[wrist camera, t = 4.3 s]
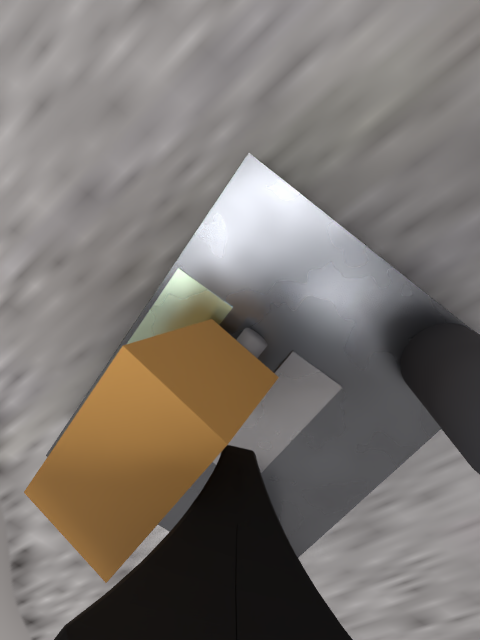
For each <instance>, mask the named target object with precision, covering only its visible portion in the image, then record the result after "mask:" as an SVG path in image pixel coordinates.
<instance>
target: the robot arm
mask: <svg viewBox="0 0 480 640" xmlns="http://www.w3.org/2000/svg"><path fill="white" fill-rule="evenodd" d="M54 640H352V638H351V637H350V636H349V635H348V633H347V632H346V631H345V629H344V628H343V627H342V625H341V624H340V623H339V621H338V620H337V618H336V617H335V615H334V614H333V613H332V611H331V610H330V608H329V607H328V605H327V604H326V602H325V601H324V599H323V598H322V597H321V595H320V594H319V592H318V591H317V589H316V588H315V586H314V584H313V583H312V581H311V579H310V578H309V576H308V575H307V573H306V571H305V570H304V568H303V566H302V564H301V563H300V561H299V559H298V557H297V555H296V554H295V552H294V550H293V548H292V546H291V544H290V542H289V540H288V538H287V536H286V534H285V532H284V530H283V528H282V526H281V524H280V521H279V519H278V517H277V515H276V512H275V510H274V508H273V505H272V503H271V500H270V498H269V495H268V493H267V490H266V487H265V484H264V481H263V478H262V476H261V472H260V469H259V466H258V462H257V458H256V454H255V453H254V451H252V450H248V449H244V448H240V447H236V446H231V445H227V446H226V447H225V448H224V449H223V450H222V452H221V455H220V458H219V460H218V463H217V465H216V467H215V469H214V471H213V472H212V474H211V476H210V477H209V479H208V481H207V482H206V484H205V486H204V487H203V489H202V491H201V492H200V494H199V495H198V496H197V498H196V499H195V500H194V502H193V503H192V505H191V506H190V507H189V509H188V510H187V512H186V513H185V514H184V515H183V517H182V518H181V519H180V520H179V522H178V523H177V524H176V525H175V526H174V528H173V529H172V530H171V531H170V532H169V533H168V535H167V536H166V537H165V538H164V539H163V540H162V541H161V542H160V543H159V544H158V545H157V546H156V547H155V548H154V549H153V551H152V552H151V553H150V554H149V555H148V556H147V557H146V558H145V559H144V560H143V561H142V562H141V563H140V564H138V565H137V566H136V567H135V568H134V569H133V570H132V571H131V572H130V573H129V574H127V575H126V576H125V577H124V578H123V579H122V580H121V581H120V582H119V583H117V584H116V585H115V586H114V587H113V588H112V589H111V590H109V591H108V592H107V593H106V594H105V595H103V596H102V597H101V598H100V599H98V600H97V601H96V602H95V603H93V604H92V605H91V606H89V607H88V608H87V609H86V610H84V611H83V612H82V613H80V614H79V615H78V616H77V617H75V618H74V619H73V620H71V621H70V622H69V623H68V624H66V625H65V626H64V627H63V629H62V630H61V631H60V632H59V634H58V635H57V636H56V638H55V639H54Z"/></svg>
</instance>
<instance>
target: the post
mask: <svg viewBox="0 0 480 640" xmlns="http://www.w3.org/2000/svg"><path fill="white" fill-rule="evenodd" d="M400 368H401V374H402V377H403V379H404V381H405V382H406V384H407V385H408V387H409V388H410V389H411V390H412V392H413V393H414V394H415V395H416V397H417V398H418V399H419V401H420V402H421V403H422V404H423V406H424V407H425V408H426V409H427V411H428V412H429V413H430V415H431V416H432V417H433V418H434V420H435V421H436V422H437V424H438V425H439V426H440V427H441V429H442V430H443V431H444V432H445V434H446V435H447V436H448V438H449V439H450V440H451V441H452V443H453V444H454V445H455V446H456V448H457V449H458V450H459V452H460V453H461V454H462V455H463V457H464V458H465V459H466V460H467V462H468V463H469V464H470V465H471V467H472V468H473V469H474V470H475V471H476V472H478V473H479V474H480V334H478V333H476V332H475V331H473V330H471V329H470V328H468V327H466V326H463V325H460V324H454V323H443V324H437V325H434V326H431V327H428V328H426V329H424V330H422V331H421V332H419V333H418V334H417V335H415V336H414V337H413V338H412V339H411V340H410V342H409V343H408V344H407V346H406V347H405V349H404V351H403V354H402V357H401V363H400Z"/></svg>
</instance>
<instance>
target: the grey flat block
mask: <svg viewBox="0 0 480 640" xmlns="http://www.w3.org/2000/svg"><path fill="white" fill-rule="evenodd" d="M210 319H213V320H214V321H215V322H216V323H217V324H218V325H219V326H221V327H222V328H223V329H224V330H225V331H226V332H227V333H229V334H230V335H231V336H232V337H233V338H234V339H237V338H238V337H239V336H240V334H241V333H242V332H243V330H244V329H245V328H250V329H252V330H254V331H255V332H257V333H258V334H259V335H261V336H262V337H263V338H264V339H265V341H266V342H267V347H266V348H265V349H264V350H263V352H262V353H261V354H260V355H259V357H258V358H257V359H258V360H260V361H261V362H262V363H263V364H264V365H265V366H266V367H268V368H269V369H270V370H271V371H272V372H273V373H274V374H276V375H277V376H278V377H279V378H278V379H277V380H276V382H275V383H274V384H273V386H272V387H271V388H270V390H269V391H268V392H267V394H266V395H265V396H264V398H263V399H262V400H261V401H260V403H259V404H258V405H257V407H256V408H255V409H254V411H253V412H252V413H251V415H250V416H249V417H248V419H247V420H246V421H245V422H244V424H243V425H242V426H241V428H240V429H239V430H238V432H237V433H236V434H235V436H234V437H233V438H232V440H231V441H230V442H229V444H228V445H231V446H236V447H240V448H244V449H248V450H252V451H254V453H255V454H256V458H257V462H258V466H259V469H260V472H261V476H262V478H263V481H264V484H265V487H266V490H267V493H268V495H269V498H270V500H271V503H272V505H273V508H274V510H275V512H276V515H277V517H278V519H279V521H280V524H281V526H282V528H283V530H284V532H285V534H286V536H287V538H288V540H289V542H290V544H291V546H292V548H293V550H294V552H295V554H296V555H297V557H299V556H300V555H302V554H303V553H304V552H305V551H306V550H307V549H308V548H309V547H310V546H312V545H313V544H314V543H315V542H316V541H317V540H318V539H319V538H320V537H322V536H323V535H324V534H325V533H326V532H327V531H328V530H329V529H330V528H332V527H333V526H334V525H335V524H336V523H337V522H338V521H339V520H340V519H342V518H343V517H344V516H345V515H346V514H347V513H348V512H349V511H350V510H351V509H353V508H354V507H355V506H356V505H357V504H358V503H359V502H360V501H361V500H363V499H364V498H365V497H366V496H367V495H368V494H369V493H370V492H371V491H373V490H374V489H375V488H376V487H377V486H378V485H379V484H380V483H381V482H383V481H384V480H385V479H386V478H387V477H388V476H389V475H390V474H391V473H393V472H394V471H395V470H396V469H397V468H398V467H399V466H400V465H401V464H403V463H404V462H405V461H406V460H407V459H408V458H409V457H410V456H411V455H412V454H414V453H415V452H416V451H417V450H418V449H419V448H420V447H421V446H422V445H424V444H425V443H426V442H427V441H428V440H429V439H430V438H431V437H432V436H434V435H435V434H436V433H437V432H438V431H439V430H440V429H441V427H440V426H439V425H438V424H437V422H436V421H435V420H434V418H433V417H432V416H431V415H430V413H429V412H428V411H427V409H426V408H425V407H424V406H423V404H422V403H421V402H420V401H419V399H418V398H417V397H416V395H415V394H414V393H413V392H412V390H411V389H410V388H409V387H408V385H407V384H406V382H405V381H404V379H403V377H402V374H401V368H400V363H401V357H402V354H403V351H404V349H405V347H406V346H407V344H408V343H409V342H410V340H411V339H412V338H413V337H414V336H415V335H417V334H418V333H419V332H421V331H422V330H424V329H426V328H428V327H431V326H434V325H437V324H443V323H454V324H460V325H463V326H466V327H468V326H467V325H465V324H464V323H463V322H461V321H460V320H459V319H458V318H456V317H455V316H454V315H453V314H451V313H450V312H449V311H448V310H446V309H445V308H444V307H443V306H441V305H440V304H439V303H438V302H436V301H435V300H434V299H433V298H431V297H430V296H429V295H427V294H426V293H425V292H424V291H422V290H421V289H420V288H419V287H417V286H416V285H415V284H414V283H412V282H411V281H410V280H409V279H407V278H406V277H405V276H404V275H402V274H401V273H400V272H398V271H397V270H396V269H395V268H393V267H392V266H391V265H390V264H388V263H387V262H386V261H385V260H383V259H382V258H381V257H380V256H378V255H377V254H376V253H375V252H373V251H372V250H371V249H370V248H368V247H367V246H366V245H364V244H363V243H362V242H361V241H359V240H358V239H357V238H356V237H354V236H353V235H352V234H351V233H349V232H348V231H347V230H346V229H344V228H343V227H342V226H341V225H339V224H338V223H337V222H336V221H334V220H333V219H332V218H330V217H329V216H328V215H327V214H325V213H324V212H323V211H322V210H320V209H319V208H318V207H317V206H315V205H314V204H313V203H312V202H310V201H309V200H308V199H307V198H305V197H304V196H303V195H301V194H300V193H299V192H298V191H296V190H295V189H294V188H293V187H291V186H290V185H289V184H288V183H286V182H285V181H284V180H283V179H281V178H280V177H279V176H278V175H276V174H275V173H274V172H273V171H271V170H270V169H269V168H267V167H266V166H265V165H264V164H262V163H261V162H260V161H259V160H257V159H256V158H255V157H254V156H252V155H251V154H250V153H248V155H247V156H246V158H245V159H244V161H243V162H242V164H241V165H240V167H239V168H238V170H237V171H236V173H235V174H234V176H233V177H232V179H231V180H230V182H229V183H228V185H227V186H226V188H225V189H224V191H223V192H222V194H221V195H220V197H219V198H218V200H217V201H216V203H215V204H214V206H213V207H212V209H211V210H210V212H209V213H208V215H207V216H206V218H205V219H204V221H203V222H202V224H201V225H200V227H199V228H198V230H197V231H196V232H195V234H194V235H193V237H192V238H191V240H190V241H189V243H188V244H187V246H186V247H185V249H184V250H183V252H182V253H181V255H180V256H179V258H178V259H177V261H176V262H175V264H174V265H173V267H172V268H171V270H170V271H169V273H168V274H167V276H166V277H165V279H164V280H163V282H162V283H161V285H160V286H159V288H158V289H157V291H156V292H155V294H154V295H153V297H152V298H151V300H150V301H149V303H148V304H147V306H146V307H145V309H144V310H143V311H142V313H141V314H140V316H139V317H138V319H137V320H136V322H135V323H134V325H133V326H132V328H131V329H130V331H129V332H128V334H127V335H126V337H125V338H124V340H123V341H122V343H121V344H120V346H119V347H118V349H117V350H116V352H115V353H114V355H113V356H112V358H111V359H110V361H109V362H108V364H107V365H106V367H105V368H104V370H103V371H102V373H101V374H100V376H99V377H98V379H97V380H96V382H95V383H94V385H93V386H92V388H91V389H90V390H89V392H88V393H87V395H86V396H85V398H84V399H83V401H82V402H81V404H80V405H79V407H78V408H77V410H76V411H75V413H74V414H73V416H72V417H71V419H70V420H69V422H68V423H67V425H66V426H65V428H64V429H63V431H62V432H61V434H60V435H59V437H58V438H57V440H56V441H55V443H54V444H53V446H52V447H51V449H50V450H49V452H48V453H47V455H46V456H47V457H48V456H49V454H50V453H51V451H52V450H53V448H54V447H55V445H56V444H57V443H58V441H59V440H60V438H61V437H62V435H63V434H64V432H65V431H66V429H67V428H68V426H69V425H70V423H71V422H72V420H73V419H74V417H75V416H76V414H77V413H78V411H79V410H80V408H81V407H82V405H83V404H84V402H85V401H86V399H87V398H88V397H89V395H90V394H91V392H92V391H93V389H94V388H95V386H96V385H97V383H98V382H99V380H100V379H101V377H102V376H103V374H104V373H105V371H106V370H107V368H108V367H109V365H110V364H111V362H112V361H113V359H114V358H115V356H116V355H117V354H118V352H119V351H120V349H121V348H122V346H123V345H127V344H130V343H133V342H137V341H140V340H143V339H147V338H150V337H153V336H156V335H160V334H163V333H166V332H170V331H173V330H176V329H180V328H183V327H186V326H190V325H193V324H196V323H200V322H203V321H206V320H210ZM468 328H469V327H468ZM471 330H472V329H471ZM220 455H221V453H220V454H219V455H218V456H217V457H216V458H215V460H214V461H213V462H212V463H211V464H210V465H209V466H208V468H207V469H206V470H205V471H204V472H203V473H202V474H201V476H200V477H199V478H198V479H197V480H196V481H195V482H194V484H193V485H192V486H191V487H190V488H189V489H188V490H187V491H186V493H185V494H184V495H183V496H182V497H181V498H180V499H179V501H178V502H177V503H176V504H175V505H174V506H173V507H172V509H171V510H170V511H169V512H168V513H167V514H166V515H165V517H164V518H163V519H162V520H161V521H160V522H159V523H158V525H160V526H161V527H163V528H165V529H166V530H168V531H171V530H172V529H173V528H174V526H175V525H176V524H177V523H178V522H179V520H180V519H181V518H182V517H183V515H184V514H185V513H186V512H187V510H188V509H189V507H190V506H191V505H192V503H193V502H194V500H195V499H196V498H197V496H198V495H199V494H200V492H201V491H202V489H203V487H204V486H205V484H206V482H207V481H208V479H209V477H210V476H211V474H212V472H213V471H214V469H215V467H216V465H217V463H218V460H219V458H220Z"/></svg>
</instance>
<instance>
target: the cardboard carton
mask: <svg viewBox="0 0 480 640" xmlns="http://www.w3.org/2000/svg"><path fill="white" fill-rule="evenodd" d="M266 347H267V342H266V341H265V339H264V338H263V337H262V336H261V335H259V334H258V333H257V332H255V331H254V330H252V329H250V328H245V329H244V330H243V332H242V333H241V334H240V336H239V337H238V338H237V339H234V338H233V337H232V336H231V335H230V334H229V333H227V332H226V331H225V330H224V329H223V328H222V327H221V326H219V325H218V324H217V323H216V322H215V321H214V320H213V319H210V320H206V321H203V322H200V323H196V324H193V325H190V326H186V327H183V328H180V329H176V330H173V331H170V332H166V333H163V334H160V335H156V336H153V337H150V338H147V339H143V340H140V341H137V342H133V343H130V344H127V345H123V346H122V348H121V349H120V351H119V352H118V354H117V355H116V356H115V358H114V359H113V361H112V362H111V364H110V365H109V367H108V368H107V370H106V371H105V373H104V374H103V376H102V377H101V379H100V380H99V382H98V383H97V385H96V386H95V388H94V389H93V391H92V392H91V394H90V395H89V397H88V398H87V399H86V401H85V402H84V404H83V405H82V407H81V408H80V410H79V411H78V413H77V414H76V416H75V417H74V419H73V420H72V422H71V423H70V425H69V426H68V428H67V429H66V431H65V432H64V434H63V435H62V437H61V438H60V440H59V441H58V443H57V444H56V445H55V447H54V448H53V450H52V451H51V453H50V454H49V456H48V457H47V459H46V460H45V462H44V463H43V465H42V466H41V468H40V469H39V471H38V472H37V474H36V475H35V477H34V478H33V480H32V481H31V483H30V484H29V486H28V487H27V488H26V490H25V491H24V493H25V494H26V495H27V496H28V497H29V498H30V500H31V501H32V502H33V503H34V504H35V505H36V506H37V507H38V508H39V509H40V511H41V512H42V513H43V514H44V515H45V516H46V517H47V518H48V519H49V521H50V522H51V523H52V524H53V525H54V526H55V527H56V528H57V529H58V530H59V532H60V533H61V534H62V535H63V536H64V537H65V538H66V539H67V540H68V541H69V543H70V544H71V545H72V546H73V547H74V548H75V549H76V550H77V551H78V552H79V554H80V555H81V556H82V557H83V558H84V559H85V560H86V561H87V562H88V564H89V565H90V566H91V567H92V568H93V569H94V570H95V571H96V572H97V573H98V575H99V576H100V577H101V578H102V579H103V580H104V581H105V582H106V583H107V582H108V580H109V579H110V578H111V577H112V576H113V575H114V574H115V572H116V571H117V570H118V569H119V568H120V567H121V566H122V564H123V563H124V562H125V561H126V560H127V559H128V558H129V556H130V555H131V554H132V553H133V552H134V551H135V550H136V548H137V547H138V546H139V545H140V544H141V543H142V542H143V540H144V539H145V538H146V537H147V536H148V535H149V534H150V533H151V531H152V530H153V529H154V528H155V527H156V526H157V525H158V523H159V522H160V521H161V520H162V519H163V518H164V517H165V515H166V514H167V513H168V512H169V511H170V510H171V509H172V507H173V506H174V505H175V504H176V503H177V502H178V501H179V499H180V498H181V497H182V496H183V495H184V494H185V493H186V491H187V490H188V489H189V488H190V487H191V486H192V485H193V484H194V482H195V481H196V480H197V479H198V478H199V477H200V476H201V474H202V473H203V472H204V471H205V470H206V469H207V468H208V466H209V465H210V464H211V463H212V462H213V461H214V460H215V458H216V457H217V456H218V455H219V454H220V453H221V452H222V450H223V449H224V448H225V447H226V446H227V445H228V444H229V442H230V441H231V440H232V438H233V437H234V436H235V434H236V433H237V432H238V430H239V429H240V428H241V426H242V425H243V424H244V422H245V421H246V420H247V419H248V417H249V416H250V415H251V413H252V412H253V411H254V409H255V408H256V407H257V405H258V404H259V403H260V401H261V400H262V399H263V398H264V396H265V395H266V394H267V392H268V391H269V390H270V388H271V387H272V386H273V384H274V383H275V382H276V380H277V379H278V378H279V377H278V376H277V375H276V374H274V373H273V372H272V371H271V370H270V369H269V368H268V367H266V366H265V365H264V364H263V363H262V362H261V361H260V360H258V359H257V358H258V357H259V355H260V354H261V353H262V352H263V350H264V349H265V348H266Z"/></svg>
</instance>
